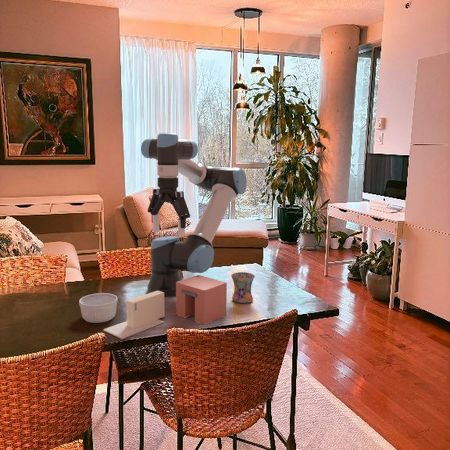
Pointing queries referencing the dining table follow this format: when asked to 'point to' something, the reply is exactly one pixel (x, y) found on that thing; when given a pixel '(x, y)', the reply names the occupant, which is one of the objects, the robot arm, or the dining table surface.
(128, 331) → the mat
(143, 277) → the dining table surface
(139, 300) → the cream white block
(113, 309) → the ramekin
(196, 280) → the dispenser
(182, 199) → the robot arm
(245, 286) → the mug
